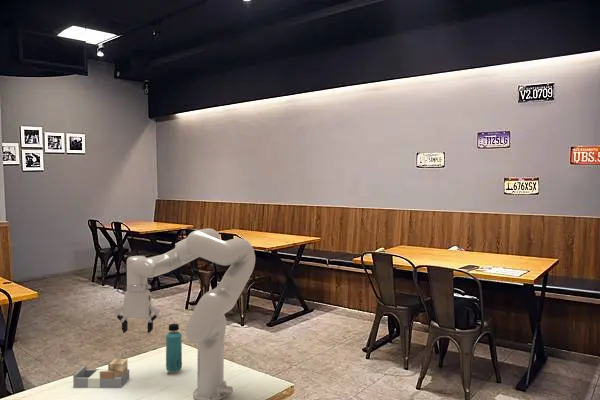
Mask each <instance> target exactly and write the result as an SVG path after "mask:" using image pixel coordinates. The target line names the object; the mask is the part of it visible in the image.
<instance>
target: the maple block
mask: <svg viewBox="0 0 600 400" xmlns="http://www.w3.org/2000/svg"><path fill="white" fill-rule="evenodd" d="M109 363H110V371H114V377H123V376H124V375H125V374H126V373H127V369H128V358H114V359H113V360H112V361H111V362H109Z"/></svg>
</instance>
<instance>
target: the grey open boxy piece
mask: <svg viewBox="0 0 600 400" xmlns="http://www.w3.org/2000/svg"><path fill="white" fill-rule="evenodd" d="M110 363H111V362H109V363H108V364H107V366H108V367H107V369H106V368H105V369H104V368H103V369H102V368H101V369H100V368H99V369H98V368H95V369H93V368H88V367H87V366H88V365H85V364H84V365H83V366H81V368H79V369H78V370H77V371H76V372H75V373H73V376H72V377H73V379H72V380H73V385H72V387H73V388H74V389H75V388H76V389H77V388H81V389H82V388H85V389H88V388H89V389H90V388H91V389H96V388H97V389H101V388H102V389H107V388H108V389H121V388H122V387H123V386H124V385H125V384H126V383H127V382H128V380H129V379H130V369H128V368H127V373H126V374H125V375H124V376H123V377H114V371H110Z"/></svg>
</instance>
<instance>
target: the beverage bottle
mask: <svg viewBox="0 0 600 400" xmlns="http://www.w3.org/2000/svg"><path fill="white" fill-rule="evenodd" d="M179 329H180V327H179V323H171V324H169V325H168V331H169V332H168V333H167V334H166V336H165V338H166V339H165V340H166V342H165V343H166V345H165V346H166V347H165V350H166V351H165V369H166V371H168V372H172V373H173V372H174V373H175V372H178V371H181V369H182V367H183V366H182V365H183V362H182V361H183V358H182V352H183V351H182V350H183V349H182V348H183V347H182V346H183V343H182V333H181V332H180V331H178V330H179Z"/></svg>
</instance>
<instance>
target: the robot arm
mask: <svg viewBox="0 0 600 400" xmlns="http://www.w3.org/2000/svg"><path fill="white" fill-rule="evenodd" d="M198 258H201V259H204V260H207V261H209V262H212V263H214V264H217V265H220V266H229V267H228V269H227V270H226V271H225V273H224V275H223V277H222V279H221V281H220V282H219V283H218V285H217V286H216V287H214V288H213V289H211V290H209V291H207V292H205V293H204V294H203V295H202V296H201V297H200V299H199V300H198V302H197V304H196V306H195V308H194V310H193V311H192V312H191V315H190V317H189V319H188V321H187V322H186V326H185V334H186V337H187V339H188V340H189V342H191V343H193V344H197V372H196V373H197V379H196V380H197V381H196V382H197V386H196V388H195V389H194V390H193V393H192V397H193V398H194V400H222V399H225V398H226V397H227V395H233V393H234V389H233V388H234V387H233V386H230V385H227V381H226V380H224V376H225V374H224V373H225V372H224V370H225V369H224V368H225V366H224V365H225V364H224V363H225V362H224V361H225V360H224V357H225V354H224V353H225V336H226V335H225V334H226V330H227V329H226V328H227V318H226V316H225V314H226V313H228V312H230V311H231V310H232V309H233V308H234V307H235V305H236V303H237V301H238V299H239V298H240V296H241V294H242V293H243V291H244V289H245V287H246V284H247V282H248V281H249V279H250V277H251V275H252V273H253V271H254V268H255V266H256V265H255V264H256V254H255V250H254V247H253V245H252V244H251V243H250V242H249V240H246V239H244V238H239V237H236V238H232V239H228V240H222V239H221V237H220V234H219V232H218V231H216V230H215V229H214V228H202V229H196V230H194V231H191V232H190V233H189V234H188V235H187V237H186V238H185V237H184V238H183V239H182V240H180V241H178V242H176V244H175V246H174V248H173V249H171V250H169V251H167V252H165V253H163V254H159V255H154V256H150V257H146V256H144V255H134V256H133V255H132V256H129V257H127V259H126V291H125V292H124V297H123V303H122V306H121V307H119V308H117V309H116V310H115V311H114V315H115V316H116V318H117V319H118V320H119V321H120V323H121V331H122V334H125V333H127V331H128V327H129V326H128V320H127V319H129V318H130V319H144V318H145V319H146V320H147V321H148V322H147V334H149V333H151V332H152V331H153V329H154V321H155V320H156V319H157V317H158V316H159V314H160V312H161V311H160V309H158V308H157V307H154V306H153V304H152V303H153V302H152V295H151V291H150V290H149V289H152V285H150V284H149V283H148V279H152V278H154V277H159V276H160V275H164V274H167V273H169V272H171V271H174V270H176V269H178V268H181V267H182V266H184V265H185V264H188V263H189V262H190V263H191V262H192V261H194V260H196V259H198ZM121 312H122V314H121ZM152 313H154V314H153V316H152Z"/></svg>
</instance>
